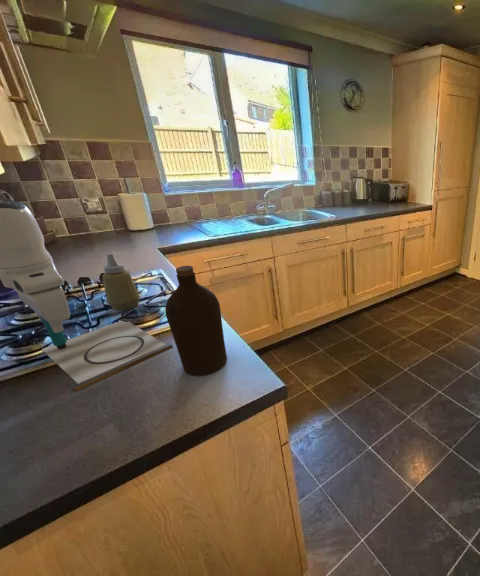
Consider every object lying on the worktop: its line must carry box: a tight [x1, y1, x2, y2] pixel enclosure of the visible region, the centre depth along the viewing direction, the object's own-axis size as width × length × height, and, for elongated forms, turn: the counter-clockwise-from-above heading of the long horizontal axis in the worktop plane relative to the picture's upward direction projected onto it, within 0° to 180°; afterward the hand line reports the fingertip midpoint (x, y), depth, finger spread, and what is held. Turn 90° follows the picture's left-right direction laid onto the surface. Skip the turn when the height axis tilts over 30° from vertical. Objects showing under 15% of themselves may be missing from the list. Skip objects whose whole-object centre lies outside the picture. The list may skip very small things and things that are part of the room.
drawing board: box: [41, 320, 174, 393], centre depth 83 cm, size 24×20×1 cm
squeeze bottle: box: [101, 252, 141, 312], centre depth 99 cm, size 8×8×18 cm
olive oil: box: [165, 265, 228, 377], centre depth 74 cm, size 11×11×25 cm
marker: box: [41, 317, 68, 349], centre depth 79 cm, size 2×2×12 cm
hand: (52, 326), depth 79 cm, fingers open, 6 cm apart
